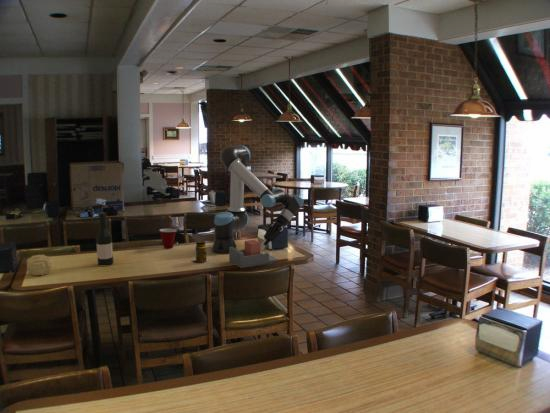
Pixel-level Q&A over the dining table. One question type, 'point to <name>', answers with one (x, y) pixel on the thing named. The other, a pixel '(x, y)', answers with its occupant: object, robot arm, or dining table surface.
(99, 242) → the wine bottle
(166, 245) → the plastic cup
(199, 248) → the condiment
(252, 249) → the red block
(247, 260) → the grey open bin
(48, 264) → the sculpture
